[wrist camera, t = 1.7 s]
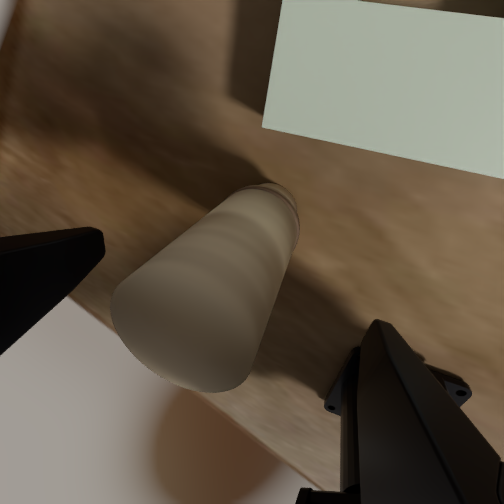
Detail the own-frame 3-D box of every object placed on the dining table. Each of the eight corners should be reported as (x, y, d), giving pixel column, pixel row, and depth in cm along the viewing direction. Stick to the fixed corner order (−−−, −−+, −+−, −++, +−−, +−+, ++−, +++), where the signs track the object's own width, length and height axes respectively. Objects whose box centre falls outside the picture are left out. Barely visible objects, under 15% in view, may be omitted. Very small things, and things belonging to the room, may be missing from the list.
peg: (295, 250, 14) (241, 413, 7) (232, 231, 15) (117, 361, 7) (315, 183, 12) (270, 306, 5) (241, 165, 13) (98, 248, 5)
